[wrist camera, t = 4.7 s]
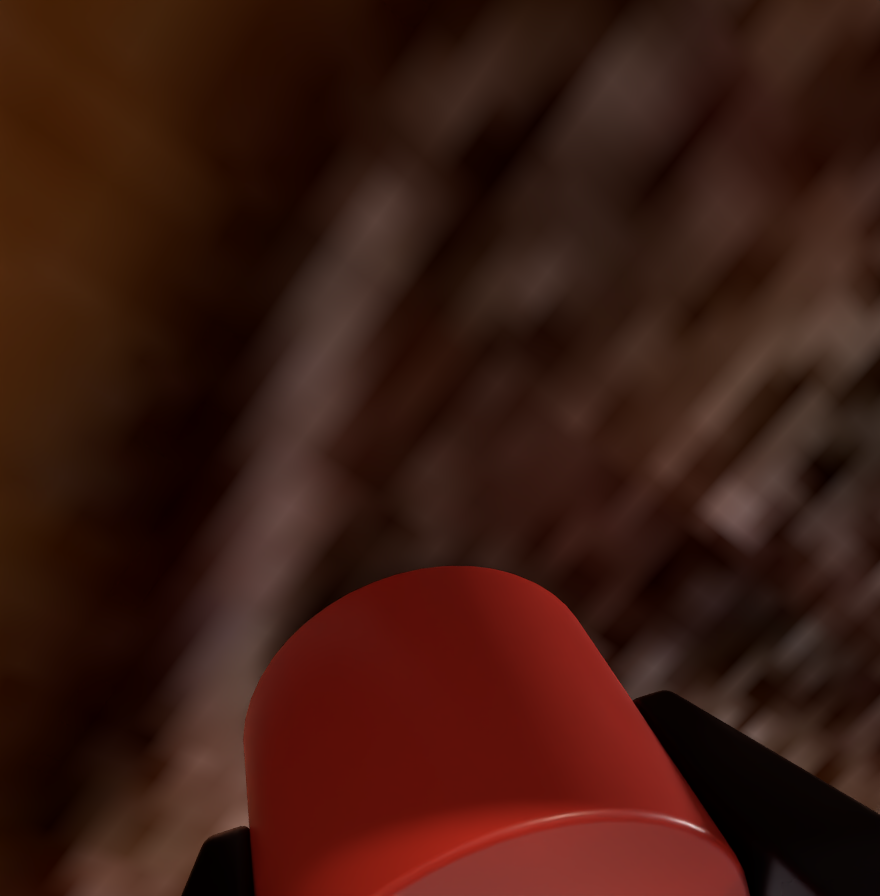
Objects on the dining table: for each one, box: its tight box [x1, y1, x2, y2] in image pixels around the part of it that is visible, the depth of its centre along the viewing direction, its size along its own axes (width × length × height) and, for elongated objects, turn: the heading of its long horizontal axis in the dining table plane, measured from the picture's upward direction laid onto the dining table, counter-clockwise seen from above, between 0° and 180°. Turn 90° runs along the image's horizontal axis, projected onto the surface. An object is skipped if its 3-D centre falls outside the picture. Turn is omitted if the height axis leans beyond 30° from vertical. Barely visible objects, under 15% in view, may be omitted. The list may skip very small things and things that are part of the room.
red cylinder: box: [243, 566, 750, 896], centre depth 8 cm, size 4×4×3 cm
